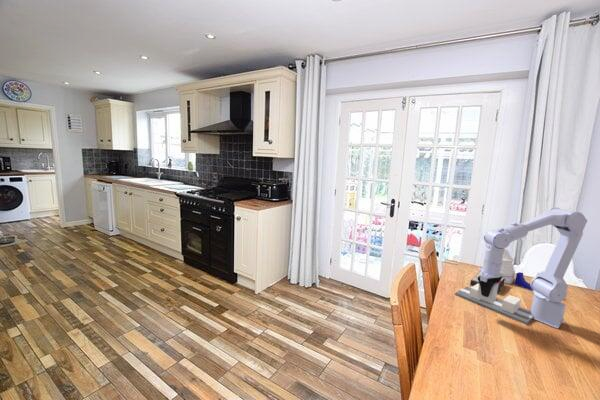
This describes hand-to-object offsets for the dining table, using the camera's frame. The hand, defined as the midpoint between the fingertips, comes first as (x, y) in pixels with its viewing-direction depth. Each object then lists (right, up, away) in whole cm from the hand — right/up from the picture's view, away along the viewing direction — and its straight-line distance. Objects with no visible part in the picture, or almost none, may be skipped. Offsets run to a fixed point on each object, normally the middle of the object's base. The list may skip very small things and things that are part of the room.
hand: (487, 294), depth 106 cm
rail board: (+9, -8, +10) cm, 15 cm away
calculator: (+20, -6, +28) cm, 35 cm away
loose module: (0, -2, 0) cm, 2 cm away
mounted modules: (+9, -7, +9) cm, 15 cm away
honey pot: (+32, -5, +38) cm, 50 cm away
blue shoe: (+40, -7, +27) cm, 49 cm away
